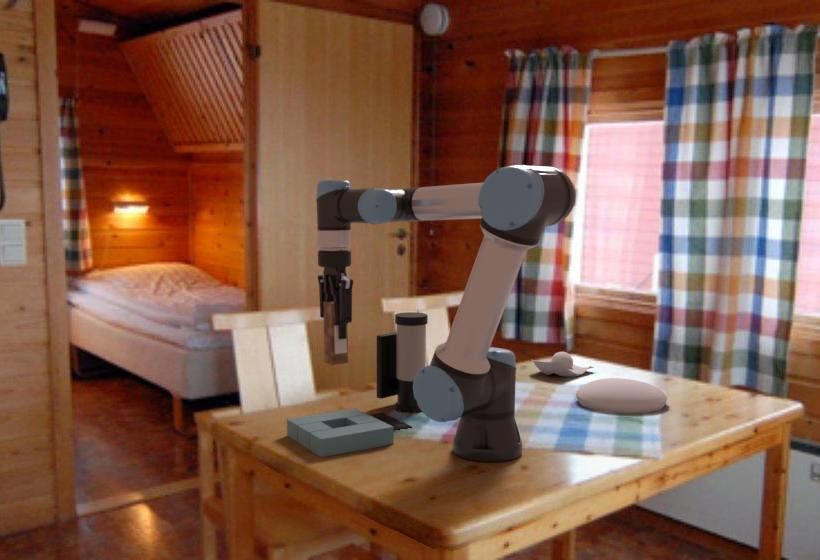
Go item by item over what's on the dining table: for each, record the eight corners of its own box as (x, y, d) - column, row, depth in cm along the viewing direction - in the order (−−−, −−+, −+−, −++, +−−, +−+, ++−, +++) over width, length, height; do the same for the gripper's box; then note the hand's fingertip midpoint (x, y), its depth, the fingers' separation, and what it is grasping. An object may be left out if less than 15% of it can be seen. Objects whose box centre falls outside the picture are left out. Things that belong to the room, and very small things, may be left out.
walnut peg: (347, 363, 192) (347, 302, 190) (332, 364, 190) (331, 303, 188) (340, 360, 195) (339, 300, 194) (324, 362, 193) (323, 301, 192)
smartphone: (356, 419, 211) (387, 434, 198) (356, 415, 211) (387, 430, 198) (381, 415, 215) (414, 429, 202) (382, 411, 215) (414, 425, 202)
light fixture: (405, 416, 212) (406, 319, 209) (376, 407, 220) (376, 314, 217) (438, 407, 221) (439, 314, 218) (408, 399, 228) (409, 309, 226)
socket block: (393, 444, 189) (393, 426, 189) (321, 457, 180) (320, 439, 179) (355, 424, 204) (355, 408, 204) (287, 435, 195) (286, 419, 195)
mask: (600, 373, 262) (562, 370, 273) (599, 349, 261) (561, 346, 272) (559, 382, 248) (521, 378, 259) (558, 356, 248) (520, 353, 259)
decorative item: (583, 392, 239) (569, 409, 220) (584, 368, 238) (570, 384, 220) (669, 400, 230) (662, 419, 212) (670, 376, 229) (663, 392, 211)
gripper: (367, 250, 184) (368, 355, 187) (332, 246, 199) (334, 344, 201) (336, 251, 180) (337, 359, 183) (303, 247, 195) (305, 347, 197)
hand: (336, 351), depth 192 cm, fingers closed on walnut peg, 4 cm apart
